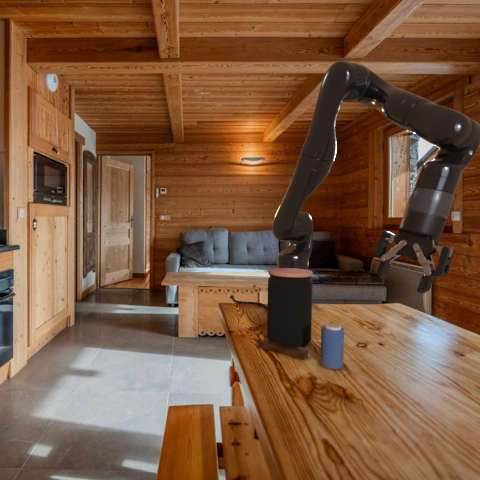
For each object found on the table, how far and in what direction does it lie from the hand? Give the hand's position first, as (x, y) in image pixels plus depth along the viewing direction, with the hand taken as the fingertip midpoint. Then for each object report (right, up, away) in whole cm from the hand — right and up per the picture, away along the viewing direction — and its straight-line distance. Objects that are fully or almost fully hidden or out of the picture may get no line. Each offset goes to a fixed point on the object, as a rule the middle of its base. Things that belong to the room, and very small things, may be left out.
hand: (400, 285), depth 83 cm
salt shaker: (-15, -17, -1) cm, 23 cm away
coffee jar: (-19, -16, +14) cm, 29 cm away
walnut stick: (-23, -16, +6) cm, 29 cm away
